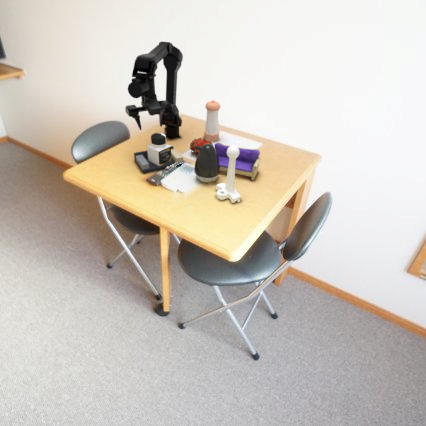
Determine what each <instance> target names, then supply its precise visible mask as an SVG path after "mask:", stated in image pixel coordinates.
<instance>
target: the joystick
mask: <svg viewBox="0 0 426 426" xmlns="http://www.w3.org/2000/svg"><path fill="white" fill-rule="evenodd" d="M229 146H230V147H229V148H228V149H227V155H228V157H229V165H228V172H227V171H226V172H227V174H226V178H225V179H226V180H225V182H221V183H217V184H216V198H217V199H218V200H219V201H220V200H221V201H224V200H227V199H229V200H230V202H231V203H232V204H235V203H240V202H241V197H242V196H241V194H240V193H239V192H238V190H237V189H235V180H236V173H235V162H236V158H237V157H238V156H239V153H240V151H239V148H240V147H239V146H237V145H229ZM238 147H239V148H238Z"/></svg>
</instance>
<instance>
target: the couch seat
mask: <svg viewBox="0 0 426 426" xmlns="http://www.w3.org/2000/svg"><path fill="white" fill-rule="evenodd" d="M170 146H171V161H170V162H168V163H165V164H163V165H161V166H158V165H156V164H154V163H152V162H150V161H148V151H147V150H142V151H138V152H133V159H134V162H135V164H136V165H137V167H138V168H139V170H140V171H141V173H142V174H143V175H144V174H149V173H154V172H159V171H165V170H166V169H165V168H166V167H167V166H170V165H172V164H174V163H175V162H180V161H182V162H184V157H183V155H182V154H181V153H179V152H178V150H177V149H176V148H175V147H174V145H170ZM181 165H182V164H179V165H177V166H176V167H175V168H178V167H182V166H181Z"/></svg>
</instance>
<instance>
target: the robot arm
mask: <svg viewBox="0 0 426 426" xmlns="http://www.w3.org/2000/svg"><path fill="white" fill-rule="evenodd" d="M183 59H184V55H183V52H182V51H181V50H180V49H179V48H178V47H176V46H175V45H173V43H172V42H170V41H162V40H161V41H159V43H158V44H157V45H156V46H155V47H154V48H152V50H150V51H149V52H148V53H141V54H139V55H137V56H136V58H135V60H134V64H133V69H132V73H131V77H132V78H131V82H130V83H129V84H128V86H127V93H128V94H129V96H131V97H132V98H133V99H139V98H140V99H141V102H140V105H141V106H137V105H136V104H129V105H126V106H125V107H124V110H125V113H126V115H127V116H128V117H130V118H132V119H134V120H135V123H136V124H137V127H138V129H139V130H140V131H142V124H141V116H140V115H139V114H140V113H143V112H147V113H148V115H149V116H156V115H158V119H159V120H158V121H159V126H160V127H163V126H164V128H163V129H164V134H165V135H166V139H167V140H169V141H170V140H175V139H180V138H181V135H180V128H181V127H182V125H183V119H182V118H181V116H180V111H179V108H178V106H177V90H178V89H177V85H178V72H179V70H180V69H181V67H182V62H183V61H184V60H183ZM161 61H162V64H163V66H164V69H165V71H166V78H165V79H166V81H165V100H158V96H157V94H156V84H155V83H156V82H155V77H157V74H156V71H157V70H158V64H159V63H160V62H161Z"/></svg>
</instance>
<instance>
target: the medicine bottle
mask: <svg viewBox="0 0 426 426" xmlns="http://www.w3.org/2000/svg"><path fill="white" fill-rule="evenodd" d="M150 139H151V140H150V143H151V144H148V145H147V146H146V149H147V150H146V151H148V161H150V162H152V163H154V164H156V165H158V166H161V165H163V164H165V163H168V162H170V161H171V146H172V145H170V144H167V137H166V135H165V133H162V132H155V133H152V134H151V135H150Z"/></svg>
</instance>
